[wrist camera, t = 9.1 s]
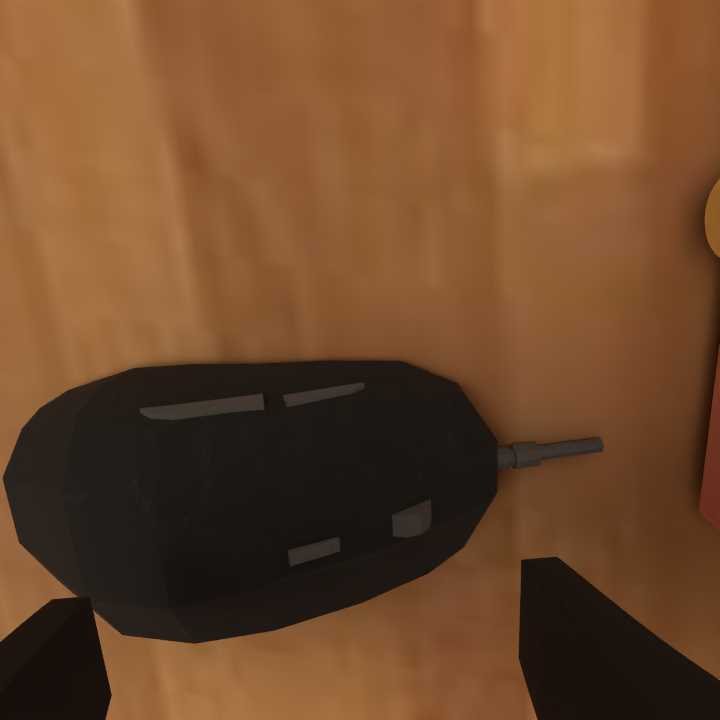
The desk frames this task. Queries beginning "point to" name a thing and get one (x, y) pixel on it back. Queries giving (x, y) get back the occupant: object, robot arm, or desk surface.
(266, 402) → the gaming mouse
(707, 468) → the drawer
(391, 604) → the desk surface
